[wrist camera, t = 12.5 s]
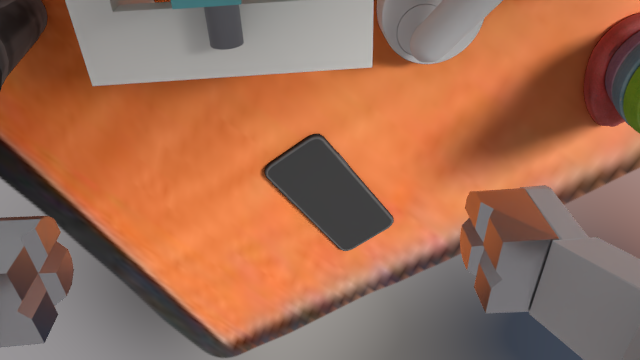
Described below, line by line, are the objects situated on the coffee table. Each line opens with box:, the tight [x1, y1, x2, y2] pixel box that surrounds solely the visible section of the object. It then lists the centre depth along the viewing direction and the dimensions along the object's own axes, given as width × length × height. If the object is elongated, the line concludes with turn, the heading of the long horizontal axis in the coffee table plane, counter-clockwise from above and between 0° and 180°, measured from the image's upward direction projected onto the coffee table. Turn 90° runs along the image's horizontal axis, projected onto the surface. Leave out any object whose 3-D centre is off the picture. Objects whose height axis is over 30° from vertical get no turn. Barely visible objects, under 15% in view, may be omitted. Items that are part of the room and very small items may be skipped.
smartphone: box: [265, 134, 394, 251], centre depth 53 cm, size 7×1×15 cm
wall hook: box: [377, 0, 503, 64], centre depth 38 cm, size 9×10×10 cm
